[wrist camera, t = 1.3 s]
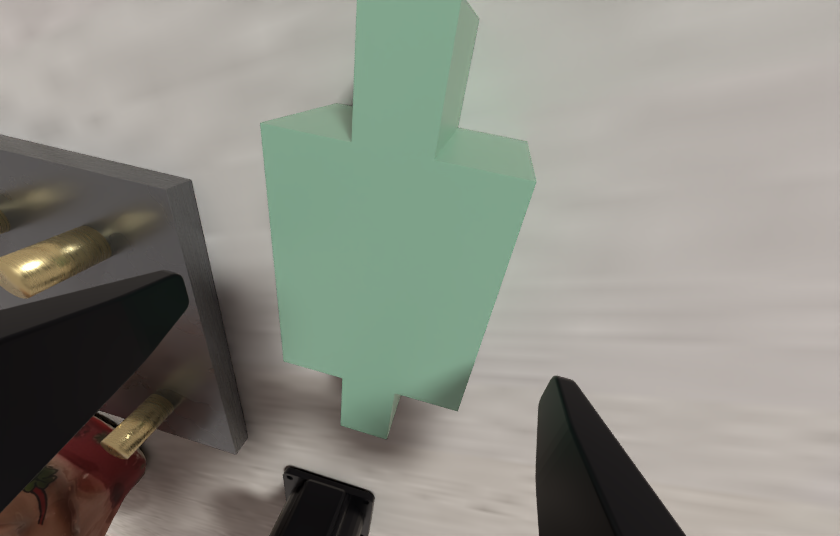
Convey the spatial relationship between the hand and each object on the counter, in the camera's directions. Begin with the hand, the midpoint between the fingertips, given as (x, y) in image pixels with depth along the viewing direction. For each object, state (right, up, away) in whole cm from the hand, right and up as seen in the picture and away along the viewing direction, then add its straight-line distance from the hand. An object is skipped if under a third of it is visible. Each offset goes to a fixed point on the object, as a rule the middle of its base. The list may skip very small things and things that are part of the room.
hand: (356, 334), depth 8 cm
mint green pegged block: (+1, +3, +5) cm, 6 cm away
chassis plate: (-16, -1, +11) cm, 19 cm away
